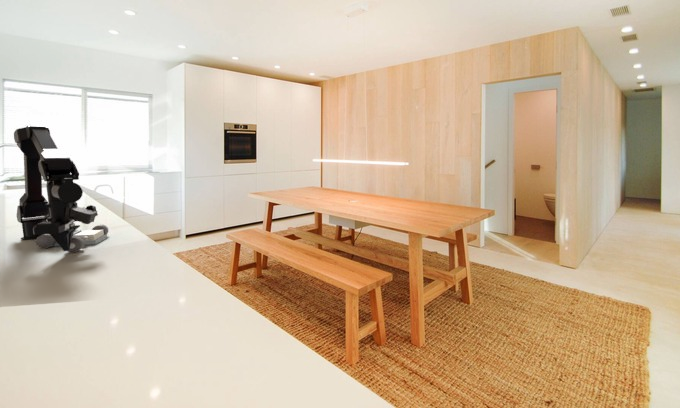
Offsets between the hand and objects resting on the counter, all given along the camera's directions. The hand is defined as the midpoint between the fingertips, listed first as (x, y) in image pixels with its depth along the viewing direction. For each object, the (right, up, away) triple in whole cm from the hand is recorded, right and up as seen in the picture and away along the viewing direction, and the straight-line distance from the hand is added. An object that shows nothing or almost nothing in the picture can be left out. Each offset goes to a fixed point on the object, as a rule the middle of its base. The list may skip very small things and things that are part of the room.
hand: (66, 250), depth 109 cm
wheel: (-1, -1, +4) cm, 5 cm away
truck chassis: (-9, +1, +15) cm, 18 cm away
